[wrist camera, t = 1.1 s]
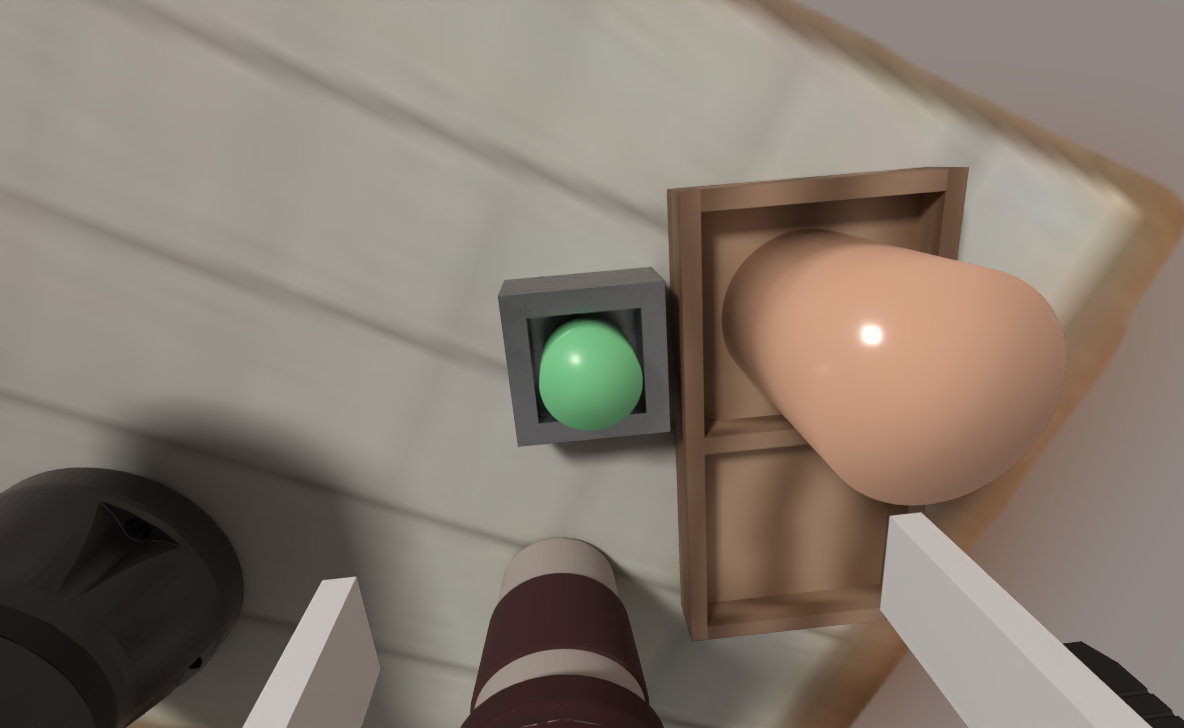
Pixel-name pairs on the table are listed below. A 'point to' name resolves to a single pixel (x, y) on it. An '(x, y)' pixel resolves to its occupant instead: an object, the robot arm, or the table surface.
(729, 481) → the divided tray
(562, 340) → the button
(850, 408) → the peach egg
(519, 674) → the coffee cup
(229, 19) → the table surface
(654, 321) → the grey square frame
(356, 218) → the table surface
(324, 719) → the robot arm
